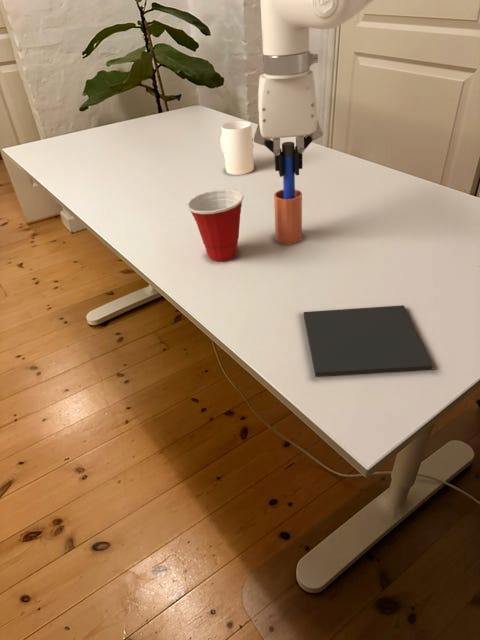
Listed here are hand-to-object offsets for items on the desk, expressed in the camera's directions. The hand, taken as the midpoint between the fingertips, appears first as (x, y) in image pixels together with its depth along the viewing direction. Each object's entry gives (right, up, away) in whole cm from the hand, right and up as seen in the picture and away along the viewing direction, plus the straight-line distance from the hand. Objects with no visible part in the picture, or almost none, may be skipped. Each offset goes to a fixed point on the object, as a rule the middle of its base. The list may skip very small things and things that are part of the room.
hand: (288, 172), depth 88 cm
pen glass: (+1, -11, +8) cm, 14 cm away
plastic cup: (-13, -15, +5) cm, 21 cm away
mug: (-10, +15, +44) cm, 48 cm away
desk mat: (+9, -31, -19) cm, 37 cm away
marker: (+1, -8, +6) cm, 10 cm away
